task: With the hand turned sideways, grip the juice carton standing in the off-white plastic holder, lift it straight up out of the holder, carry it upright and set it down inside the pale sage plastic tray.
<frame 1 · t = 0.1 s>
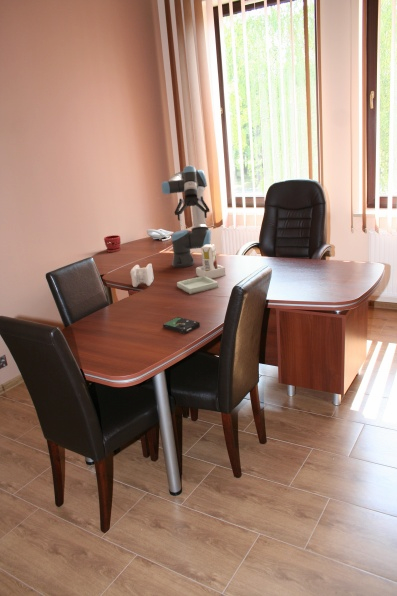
hand: (192, 224, 281), 36 cm above the table, tool tilted 35°, fingers open, 13 cm apart
cable organizer: (143, 284, 303), on the table
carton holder: (211, 275, 306), on the table
juice carton: (211, 275, 306), resting in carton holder
tray: (197, 286, 286), on the table
plant pot: (114, 251, 406), on the table
disk drive: (181, 328, 229), on the table
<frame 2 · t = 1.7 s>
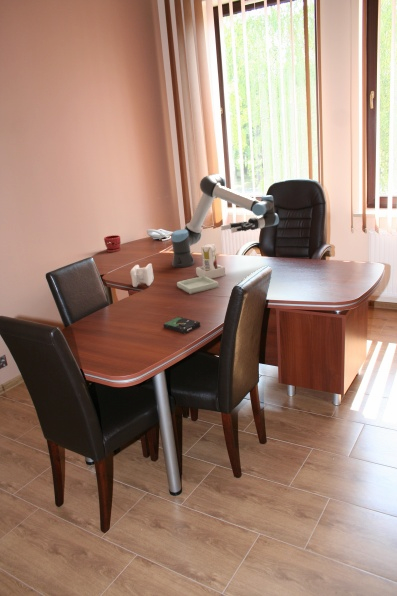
hand: (226, 229, 303), 27 cm above the table, tool horizontal, fingers open, 13 cm apart
nothing on the table moved.
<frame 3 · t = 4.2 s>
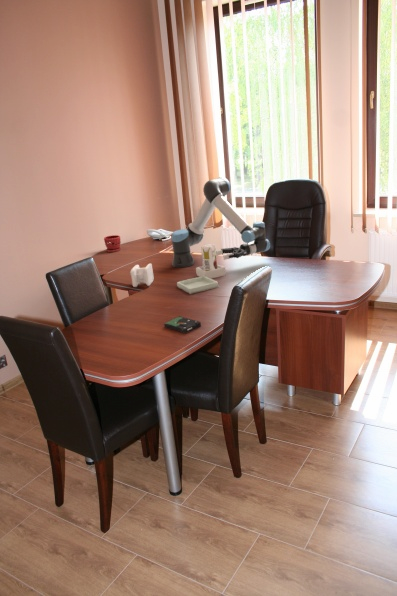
hand: (218, 255, 304), 11 cm above the table, tool horizontal, fingers open, 13 cm apart
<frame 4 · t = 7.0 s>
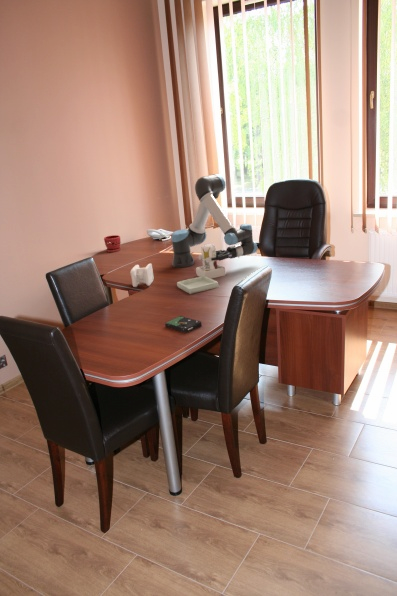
hand: (202, 258, 301), 12 cm above the table, tool horizontal, fingers closed on juice carton, 9 cm apart
juice carton: (211, 275, 306), resting in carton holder, touching gripper
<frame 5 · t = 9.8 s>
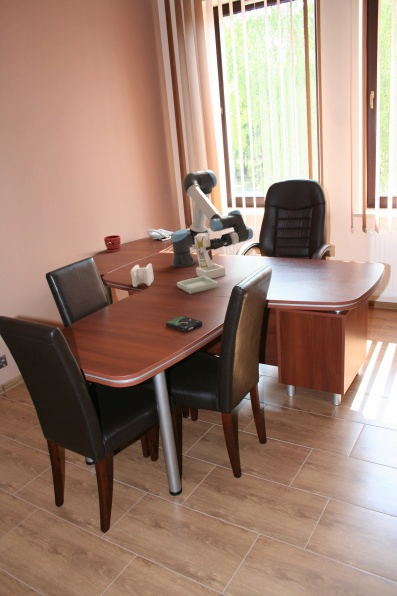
hand: (196, 248, 283), 22 cm above the table, tool horizontal, fingers closed on juice carton, 9 cm apart
juice carton: (206, 265, 289), point 10 cm above the table, touching gripper
when the fingers open (14 cm above the table, at t = 12.8 s): juice carton drops 1 cm, resting on tray.
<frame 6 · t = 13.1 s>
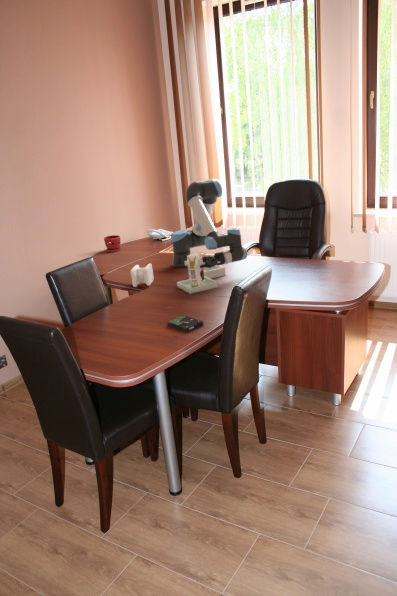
hand: (189, 265, 280), 14 cm above the table, tool horizontal, fingers open, 12 cm apart
juice carton: (197, 285, 286), point 1 cm above the table, touching tray
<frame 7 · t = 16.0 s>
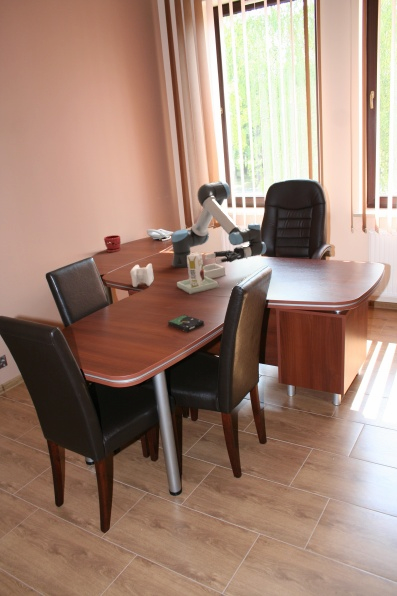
hand: (210, 259, 286), 14 cm above the table, tool horizontal, fingers open, 13 cm apart
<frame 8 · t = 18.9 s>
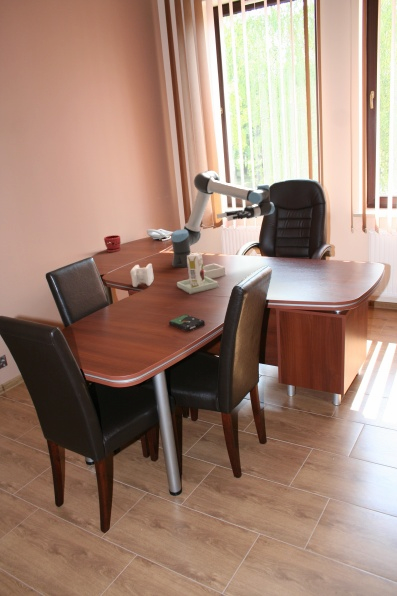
hand: (222, 217, 302), 34 cm above the table, tool horizontal, fingers open, 13 cm apart
at the end: juice carton inside the target area on the tray (0.1 cm from its centre), point 0.6 cm above the tray's base; juice carton tilted 0°; the gripper is holding nothing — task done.
